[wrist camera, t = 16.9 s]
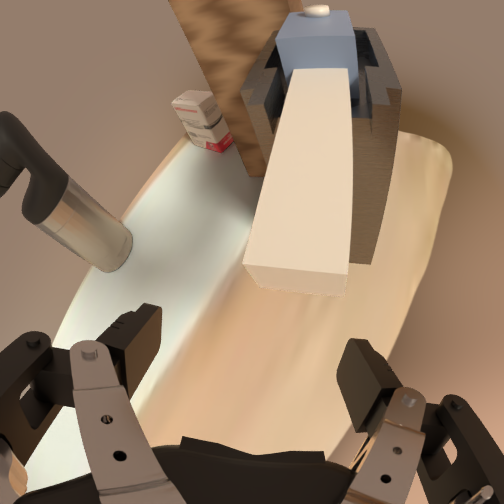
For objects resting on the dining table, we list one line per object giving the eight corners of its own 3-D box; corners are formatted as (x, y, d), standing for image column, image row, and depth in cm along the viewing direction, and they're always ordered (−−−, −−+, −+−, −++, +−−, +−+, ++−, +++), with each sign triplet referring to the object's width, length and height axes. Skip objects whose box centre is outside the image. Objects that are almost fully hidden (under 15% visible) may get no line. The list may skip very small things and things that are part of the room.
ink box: (237, 137, 51) (216, 90, 41) (221, 154, 50) (197, 106, 40) (208, 130, 55) (186, 88, 45) (193, 145, 54) (168, 103, 44)
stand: (249, 176, 45) (163, -9, 17) (262, 134, 50) (201, -24, 21) (321, 177, 41) (274, -41, 13) (325, 133, 46) (288, -43, 17)
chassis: (293, 271, 36) (230, 107, 14) (308, 182, 42) (273, 30, 20) (369, 279, 32) (408, 107, 11) (371, 185, 38) (374, 28, 17)
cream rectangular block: (244, 285, 12) (180, 210, 7) (300, 57, 21) (287, 5, 16) (361, 299, 10) (384, 219, 5) (353, 56, 19) (346, 2, 14)
